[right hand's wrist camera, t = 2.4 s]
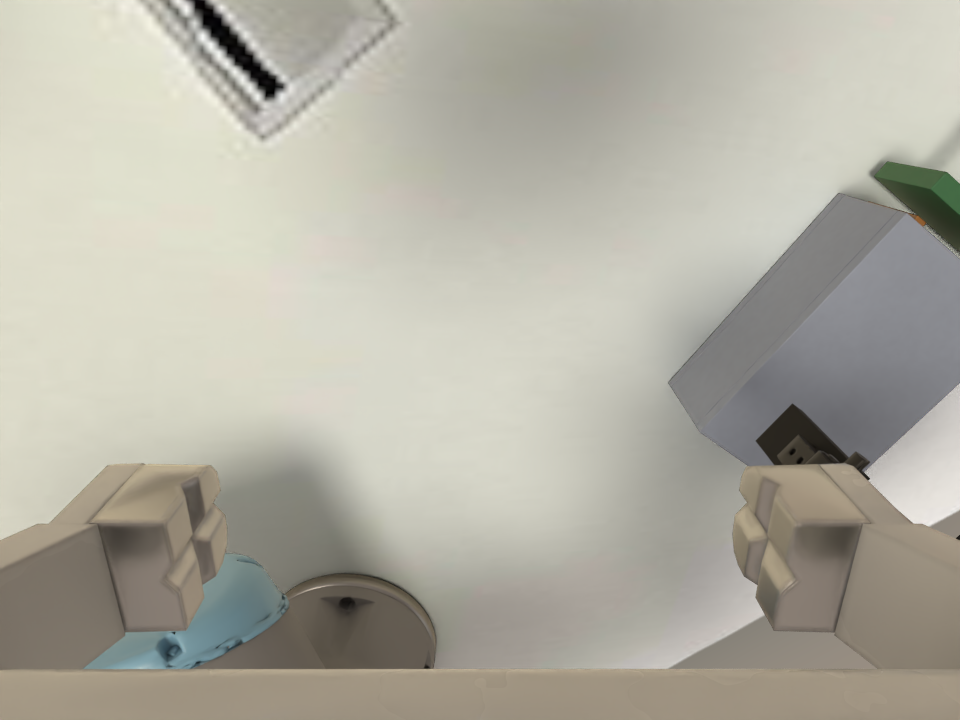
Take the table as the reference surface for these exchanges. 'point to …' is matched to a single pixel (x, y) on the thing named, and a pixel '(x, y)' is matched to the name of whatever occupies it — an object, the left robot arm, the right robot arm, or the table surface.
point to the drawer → (926, 197)
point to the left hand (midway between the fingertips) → (867, 489)
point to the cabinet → (834, 337)
